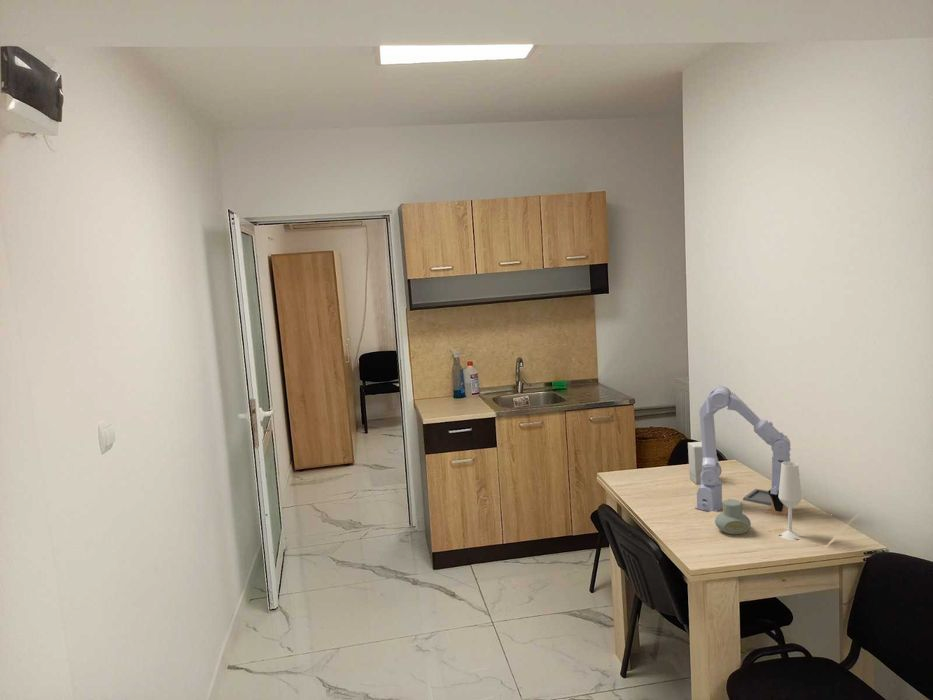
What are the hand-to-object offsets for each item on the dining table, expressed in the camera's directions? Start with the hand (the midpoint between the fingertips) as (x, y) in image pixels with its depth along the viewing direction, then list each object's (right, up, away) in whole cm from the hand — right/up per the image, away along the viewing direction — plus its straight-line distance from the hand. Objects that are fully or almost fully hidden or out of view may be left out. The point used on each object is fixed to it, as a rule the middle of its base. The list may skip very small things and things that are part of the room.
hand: (781, 508), depth 232 cm
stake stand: (0, -2, 0) cm, 2 cm away
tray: (+1, 0, +14) cm, 14 cm away
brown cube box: (0, -1, 0) cm, 1 cm away
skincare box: (-15, +2, +39) cm, 42 cm away
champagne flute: (-6, -5, -19) cm, 20 cm away
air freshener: (-22, -5, -12) cm, 25 cm away
